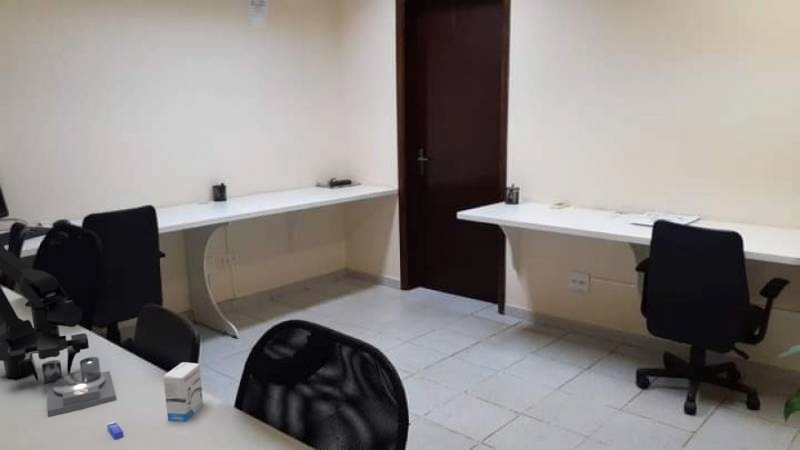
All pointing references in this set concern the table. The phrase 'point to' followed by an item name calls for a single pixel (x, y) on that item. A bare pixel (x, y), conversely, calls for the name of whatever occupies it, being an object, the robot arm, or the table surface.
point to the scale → (80, 397)
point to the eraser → (115, 430)
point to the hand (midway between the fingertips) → (53, 377)
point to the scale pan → (75, 383)
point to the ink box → (183, 391)
